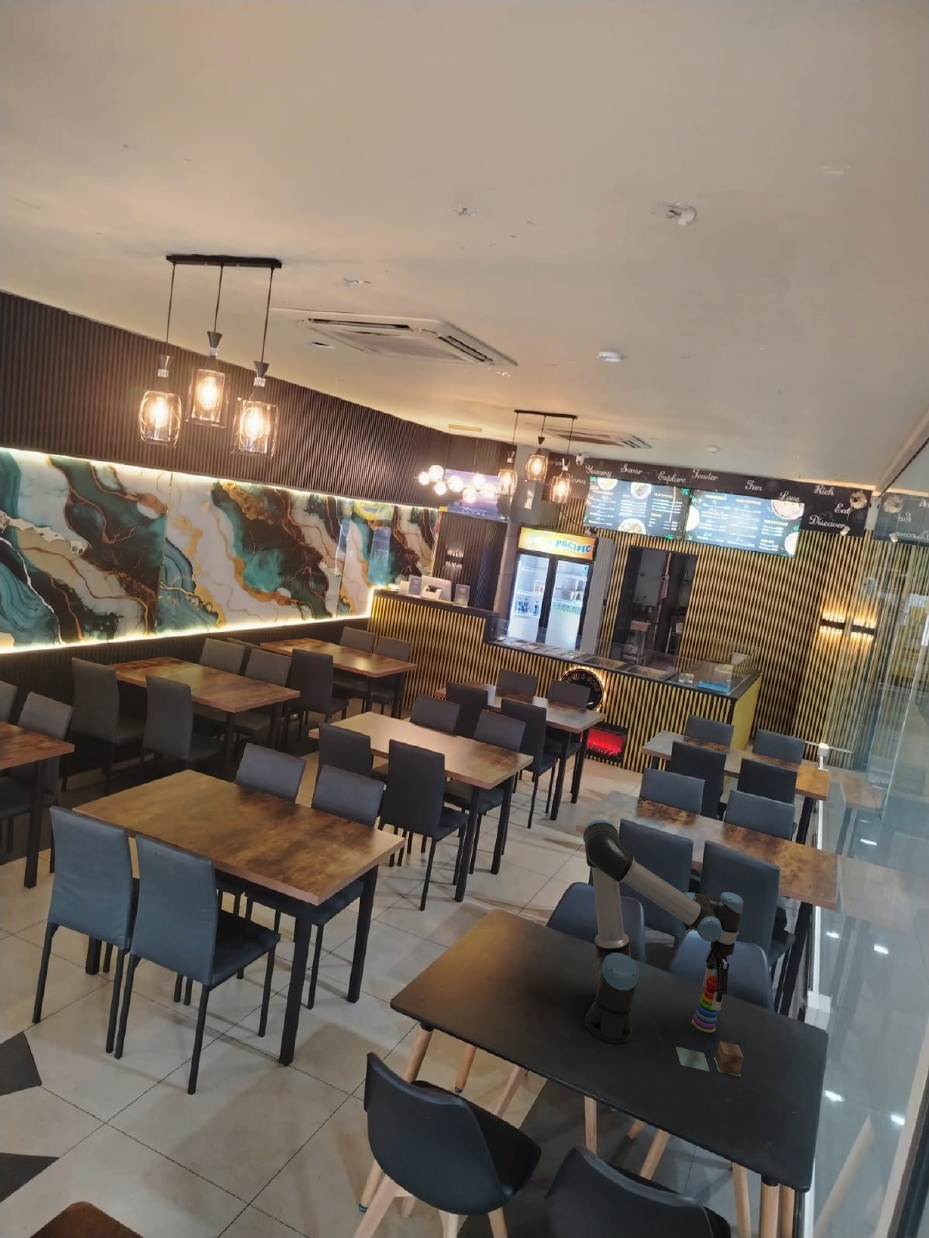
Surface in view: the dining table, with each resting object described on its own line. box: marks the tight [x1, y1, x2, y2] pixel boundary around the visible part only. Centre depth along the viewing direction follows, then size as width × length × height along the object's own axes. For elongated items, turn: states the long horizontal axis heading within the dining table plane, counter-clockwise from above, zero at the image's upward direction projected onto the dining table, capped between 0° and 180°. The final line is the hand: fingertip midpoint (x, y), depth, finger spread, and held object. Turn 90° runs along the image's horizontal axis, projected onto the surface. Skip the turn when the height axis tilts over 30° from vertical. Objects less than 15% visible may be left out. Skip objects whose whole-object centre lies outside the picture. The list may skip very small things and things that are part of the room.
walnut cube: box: [715, 1040, 744, 1075], centre depth 251 cm, size 6×6×6 cm
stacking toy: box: [691, 975, 718, 1033], centre depth 272 cm, size 8×8×19 cm
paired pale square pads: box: [675, 1046, 742, 1078], centre depth 252 cm, size 24×16×1 cm, turn 85°
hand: (711, 997), depth 271 cm, fingers open, 13 cm apart
